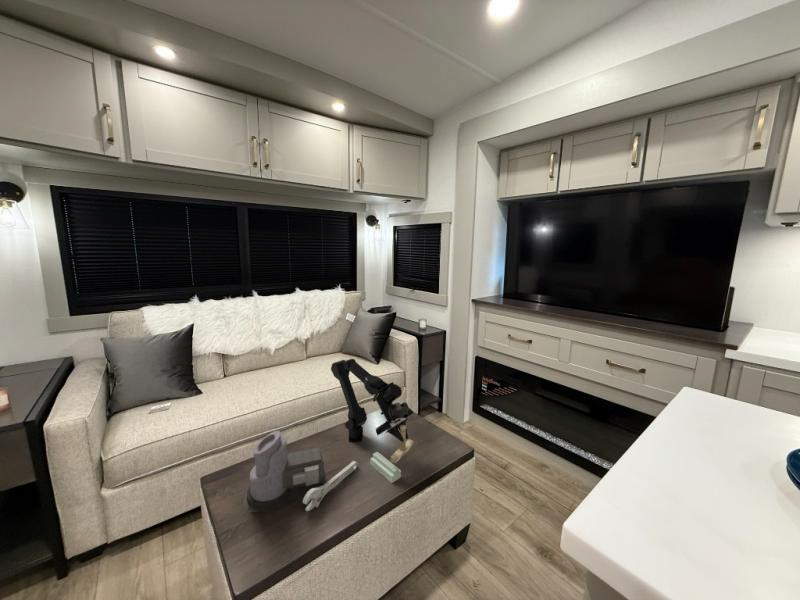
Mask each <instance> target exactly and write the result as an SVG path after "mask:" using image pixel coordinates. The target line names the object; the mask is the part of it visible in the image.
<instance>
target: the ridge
mask: <svg viewBox="0 0 800 600" xmlns="http://www.w3.org/2000/svg"><path fill="white" fill-rule="evenodd" d="M369 461H370V463H369V464H370V466H371V467H373V469H375V470H376V471H377V472H378V473H380V474H381V476H383V477H384V478H385V479H386V480H387V481H389V483H391V484H393V483H394V482H395V481H398V480H399V479H401V477H402V470H401V469H400V468H399V467H397V466H396V465H395V464H394V463H393V462H392V461H391V460H388V459H387V458H386V457H384V456H383V455H382V454H381V453H379V452H378V451H376V452H374V453H372V457H371V458H370V459H369Z"/></svg>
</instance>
